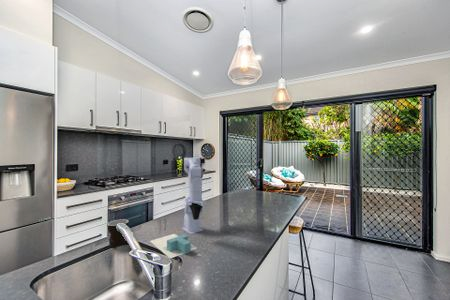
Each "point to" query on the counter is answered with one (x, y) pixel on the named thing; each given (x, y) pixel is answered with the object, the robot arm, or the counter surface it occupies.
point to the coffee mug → (116, 233)
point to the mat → (162, 245)
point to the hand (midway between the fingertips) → (196, 219)
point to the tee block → (179, 244)
